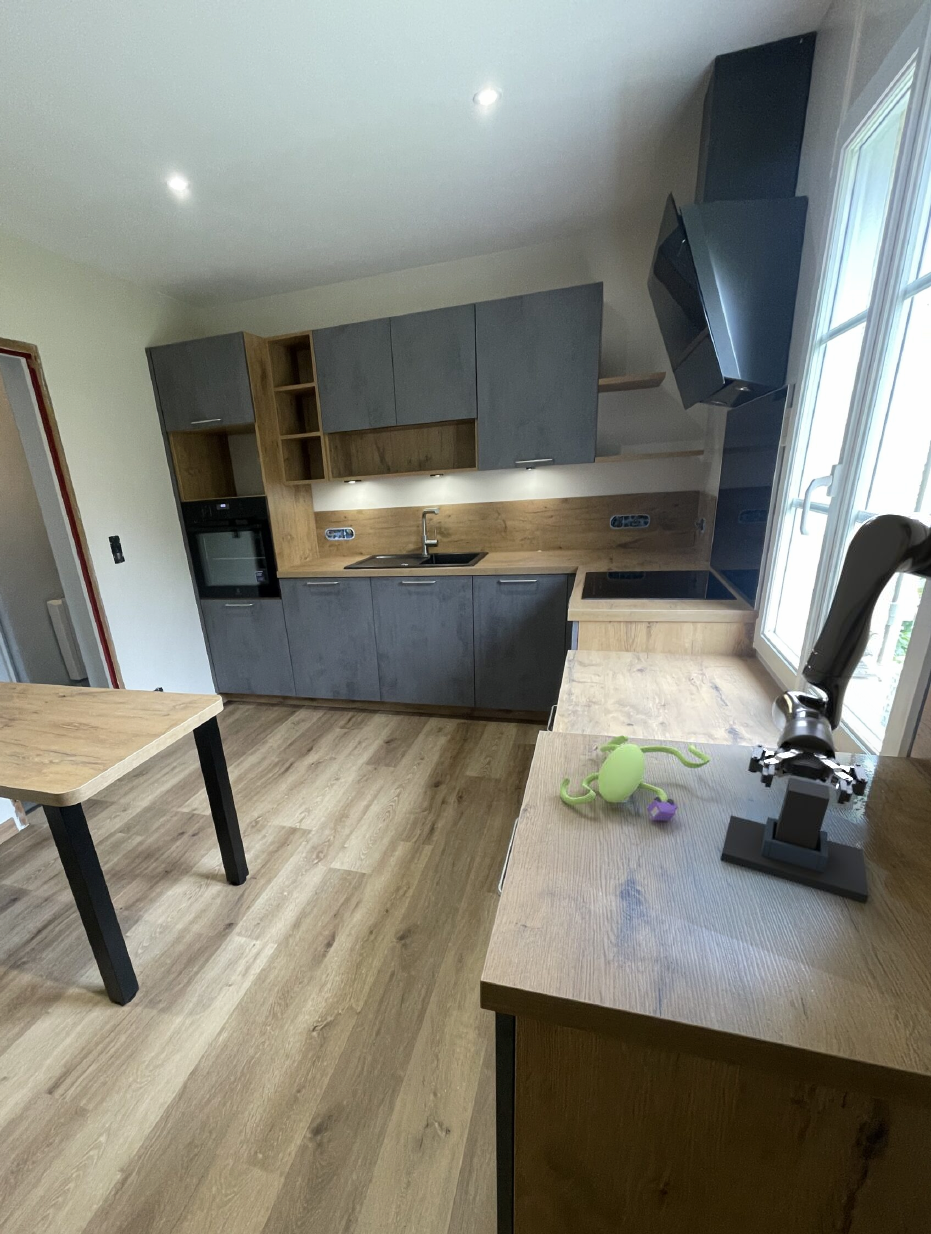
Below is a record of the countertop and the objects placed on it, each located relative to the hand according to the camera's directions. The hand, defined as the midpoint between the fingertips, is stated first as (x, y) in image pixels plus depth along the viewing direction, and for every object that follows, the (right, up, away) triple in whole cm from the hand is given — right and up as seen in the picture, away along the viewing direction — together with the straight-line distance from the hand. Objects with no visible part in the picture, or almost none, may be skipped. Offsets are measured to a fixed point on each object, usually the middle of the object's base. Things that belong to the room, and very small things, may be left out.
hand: (804, 789), depth 78 cm
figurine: (-17, -2, +19) cm, 25 cm away
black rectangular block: (-3, -8, -1) cm, 9 cm away
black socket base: (-3, -9, -1) cm, 10 cm away
